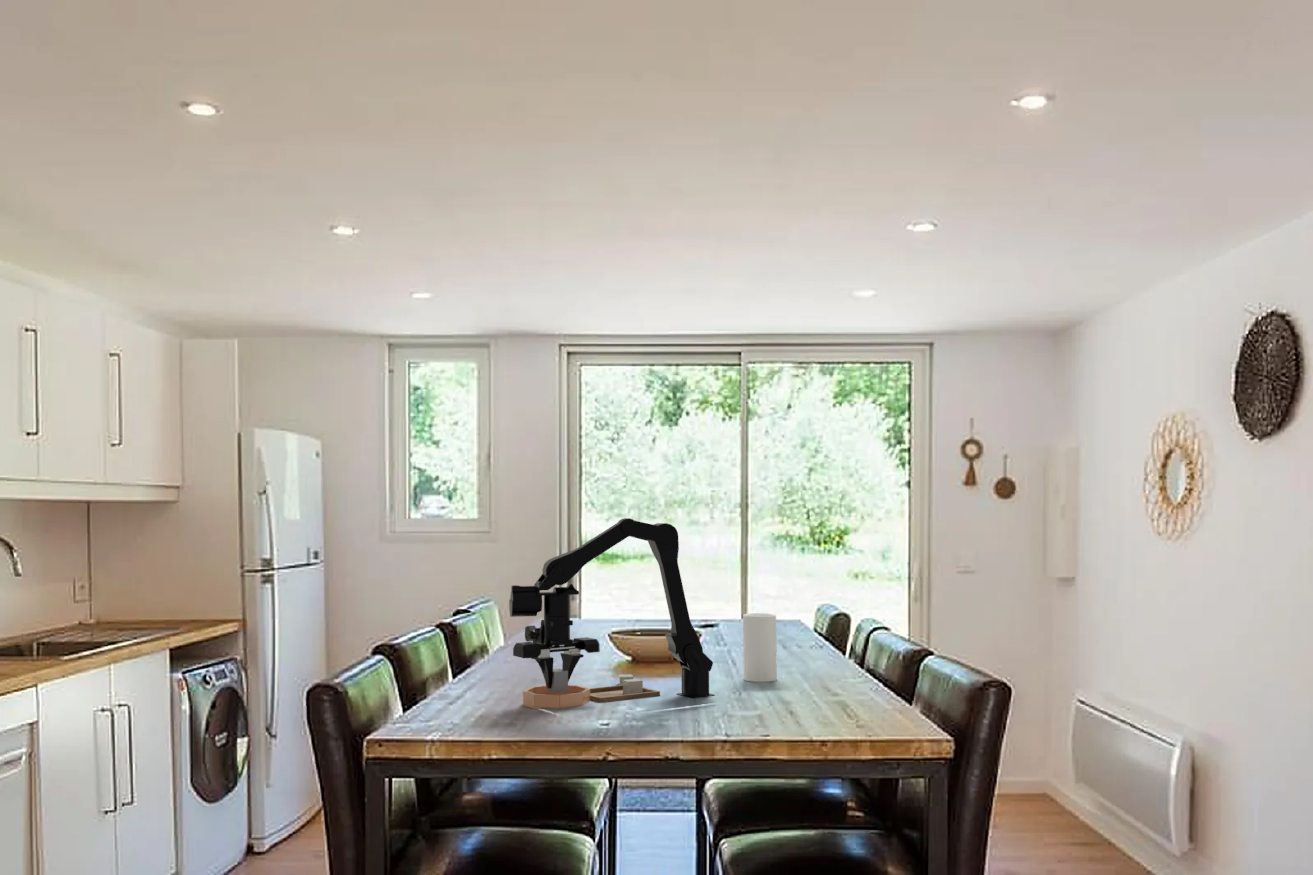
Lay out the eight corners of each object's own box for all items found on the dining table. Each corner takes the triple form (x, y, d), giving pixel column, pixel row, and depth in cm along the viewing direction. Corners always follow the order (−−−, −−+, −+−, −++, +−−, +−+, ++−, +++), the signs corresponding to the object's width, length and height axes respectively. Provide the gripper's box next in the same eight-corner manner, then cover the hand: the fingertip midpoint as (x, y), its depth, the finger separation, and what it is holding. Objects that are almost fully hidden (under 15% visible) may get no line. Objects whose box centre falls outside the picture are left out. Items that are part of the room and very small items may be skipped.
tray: (659, 697, 240) (659, 691, 241) (599, 704, 232) (599, 698, 232) (630, 690, 251) (630, 684, 251) (572, 696, 243) (572, 690, 243)
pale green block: (633, 676, 254) (633, 688, 254) (631, 674, 258) (631, 686, 258) (619, 677, 254) (619, 688, 254) (618, 674, 258) (618, 686, 258)
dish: (599, 705, 231) (599, 691, 232) (542, 711, 224) (542, 697, 224) (569, 696, 243) (569, 683, 243) (515, 702, 235) (515, 688, 236)
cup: (740, 681, 264) (739, 615, 265) (747, 676, 272) (746, 612, 273) (773, 682, 261) (772, 616, 262) (779, 677, 269) (778, 613, 270)
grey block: (568, 691, 233) (568, 670, 233) (554, 692, 231) (554, 672, 231) (559, 688, 236) (559, 668, 237) (545, 690, 234) (545, 669, 235)
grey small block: (637, 692, 245) (637, 678, 245) (642, 694, 242) (642, 680, 243) (622, 693, 244) (622, 679, 244) (628, 695, 241) (628, 681, 241)
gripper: (576, 610, 247) (576, 679, 245) (502, 615, 237) (502, 686, 235) (600, 614, 237) (601, 685, 236) (524, 619, 227) (524, 693, 226)
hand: (556, 687), depth 234 cm, fingers closed on grey block, 3 cm apart
